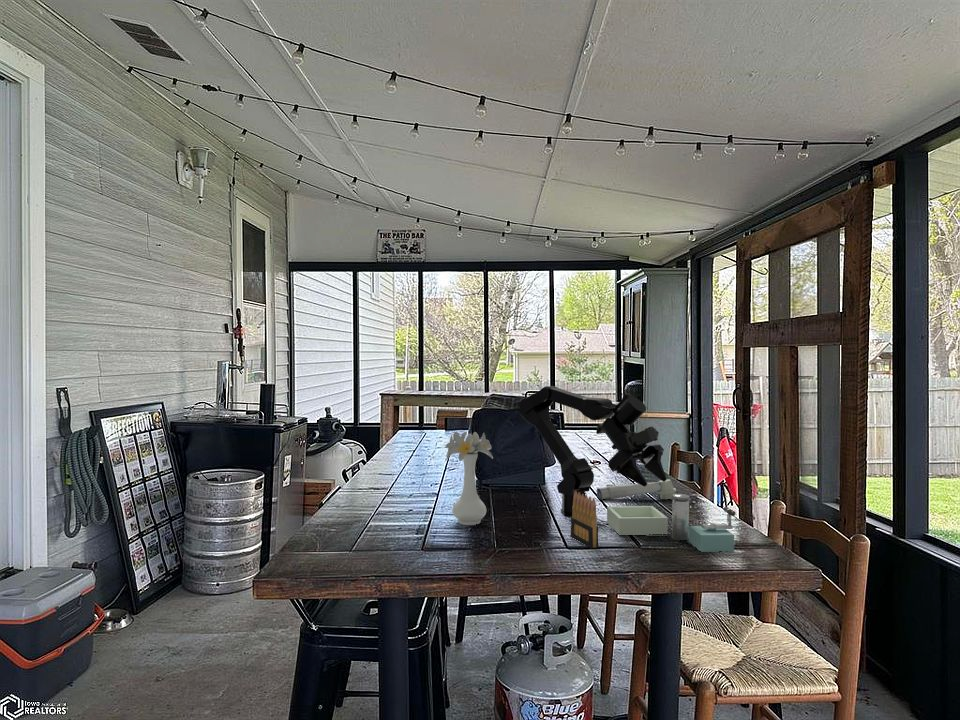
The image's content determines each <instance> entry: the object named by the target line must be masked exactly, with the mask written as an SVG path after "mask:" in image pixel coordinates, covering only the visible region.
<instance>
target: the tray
mask: <svg viewBox="0 0 960 720" xmlns="http://www.w3.org/2000/svg"><path fill="white" fill-rule="evenodd" d="M668 521H669V519H668V517H667V516H666V515H665V514H664V513H662V512H661V511H659V510H658V509H657V508H655V507H654V506H653V505H635V506H634V505H632V506H631V505H630V506H629V505H627V506H626V505H621V506H618V505H617V506H615V505H613V506H612V505H611V506H607V507H606V523H607V522H608V523H607V525H608V526H609V527H610V526H611V527H612V528H613V529H614V530H615V531H616V532H617V533H618V534H619V535H646V536H653V535H652V534H662V535H661V536H664V535H663V534H668V526H669V524H668V523H669V522H668ZM612 528H611V529H612ZM613 529H612V530H613ZM614 530H613V531H614ZM615 531H614V532H615ZM616 532H615V533H616ZM617 533H616V534H617ZM618 534H617V535H618ZM649 534H651V535H649ZM619 535H618V536H619ZM668 535H669V534H668Z"/></svg>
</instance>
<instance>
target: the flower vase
mask: <svg viewBox="0 0 960 720" xmlns="http://www.w3.org/2000/svg"><path fill="white" fill-rule="evenodd" d="M486 438H487V437H486V434H485V432H483V433H482V435H481V436H479V434H478V433H477V432H476V431H474V432H473V433H468V434H467V431H464V432H462V433H461V435H459V432H458V431H454V432H453V434H450V438H449V442H448V443H447V444H445V446H444V447H445V448H446V449H447V453H446V458H445V462H447V460H448V459H449V458H450V457H451V456H452V455H453V454H458V457H457V458H458V461H459V462H460V461H463V469H464V470H463V471H464V472H463V474H464V475H463V486H462V487H463V488H462V492H461V494H460V497H459V499H457V501H456V502H455V503H454V504H453V506H452V515H453V516H454V518H455V519H456V520H457V523H458V524H459V525H462V526H476V524H477V525H479V524H480V523H481V521H482V519H483V518H485V516H486V514H487V507H486V505H485V503H484V502H483V501H482V500H481V498H480V497H479V494H478V491H477V487H476V462H477V459H478V456H479V455H478V454H479V452H481V453H484V454H485V455H487V456H488V457H490V459H492V460H493V459H494V457H493V454H492V452H491V451H489V450H492V444H491V443H490V440H489V439H486Z"/></svg>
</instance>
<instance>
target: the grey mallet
mask: <svg viewBox="0 0 960 720" xmlns="http://www.w3.org/2000/svg"><path fill="white" fill-rule="evenodd" d="M676 492H677V488H675V487H674V486H673V482H672V480H671V479H669V478H668V479H667V480H666V481H665V482H663V481H662V480H660V479H659V481H656V482H655V481H654V482H647V485H646V486H645V487H644V486H642V485H640V484H639V483H633V484H623V485H610V486H609V485H607V486H603V487H596V496H597V497H596V498H597V499H598V498H599V499H600V500H599V499H598V500H599V501H604V500H603V499H608V500H610V501H612V500H614V499H619V498H627V497H631V496H639V495H644V494H651V493H656V494H657V499H658V498H660V499H659V500H662V499H663V500H667V499H671V500H673V499H672V495H673V494H676Z"/></svg>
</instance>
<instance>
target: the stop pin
mask: <svg viewBox="0 0 960 720" xmlns="http://www.w3.org/2000/svg"><path fill="white" fill-rule="evenodd" d="M690 498H691V497H690V495H689V494H685V493H675V494H673V495H672V499H671V500H672V503H671V504H672V505H671V508H672V510H671V513H672V516H671V517H672V520H671V521H672V522H671V526H672V527H671V528H672V529H671V539H672V538H673V539H672V540H674V539H676V540H675V541H677V540H687V541H689V540H688V539H689V526H690V525H689V523H690V501H691V500H690Z"/></svg>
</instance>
